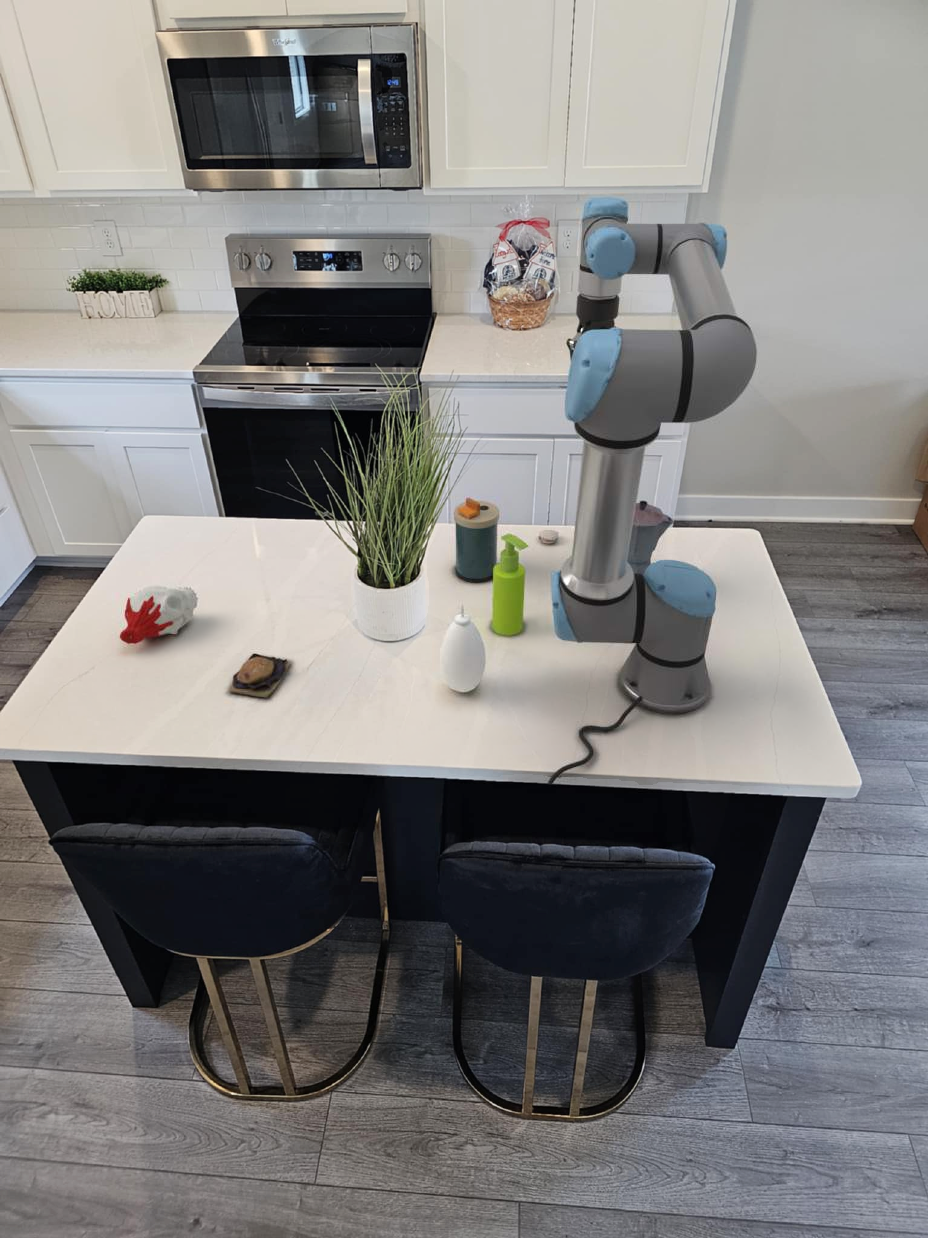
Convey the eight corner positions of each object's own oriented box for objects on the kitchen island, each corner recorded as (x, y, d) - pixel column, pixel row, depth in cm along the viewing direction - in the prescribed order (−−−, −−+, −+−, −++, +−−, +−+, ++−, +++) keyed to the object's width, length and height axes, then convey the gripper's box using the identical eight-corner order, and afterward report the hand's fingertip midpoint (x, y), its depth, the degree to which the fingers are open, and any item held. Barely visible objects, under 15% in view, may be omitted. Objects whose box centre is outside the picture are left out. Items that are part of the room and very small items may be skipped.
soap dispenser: (509, 642, 160) (512, 550, 149) (486, 625, 165) (487, 535, 153) (532, 630, 163) (537, 540, 152) (508, 614, 168) (511, 525, 156)
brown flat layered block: (269, 700, 147) (266, 684, 145) (225, 693, 149) (221, 676, 147) (294, 663, 155) (292, 647, 153) (252, 656, 157) (249, 640, 155)
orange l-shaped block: (468, 507, 173) (468, 497, 172) (480, 513, 171) (480, 503, 169) (457, 511, 171) (457, 501, 170) (469, 518, 169) (468, 508, 168)
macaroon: (534, 540, 191) (535, 530, 190) (551, 533, 194) (551, 523, 192) (547, 547, 189) (548, 537, 187) (564, 540, 191) (564, 530, 190)
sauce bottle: (490, 678, 152) (491, 595, 141) (478, 706, 145) (478, 621, 135) (448, 670, 153) (446, 587, 143) (434, 698, 147) (432, 613, 137)
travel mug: (478, 555, 186) (478, 496, 178) (506, 572, 180) (508, 511, 172) (445, 570, 181) (444, 509, 173) (474, 588, 176) (474, 526, 167)
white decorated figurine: (205, 613, 168) (162, 665, 157) (156, 602, 171) (111, 652, 160) (193, 578, 162) (148, 629, 151) (143, 567, 165) (95, 617, 154)
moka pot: (662, 603, 170) (676, 515, 159) (585, 595, 173) (594, 508, 161) (663, 578, 178) (676, 492, 166) (589, 571, 181) (597, 486, 169)
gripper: (607, 283, 157) (596, 406, 171) (557, 296, 150) (550, 422, 164) (638, 291, 152) (625, 417, 166) (589, 305, 145) (578, 434, 159)
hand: (588, 419), depth 165 cm, fingers closed
